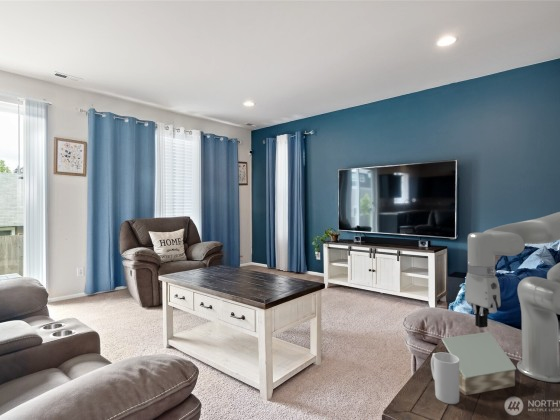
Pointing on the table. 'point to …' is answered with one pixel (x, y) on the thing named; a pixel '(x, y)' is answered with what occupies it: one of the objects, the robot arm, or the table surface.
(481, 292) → the robot arm
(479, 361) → the lid
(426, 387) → the table surface
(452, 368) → the mug
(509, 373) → the beige box
